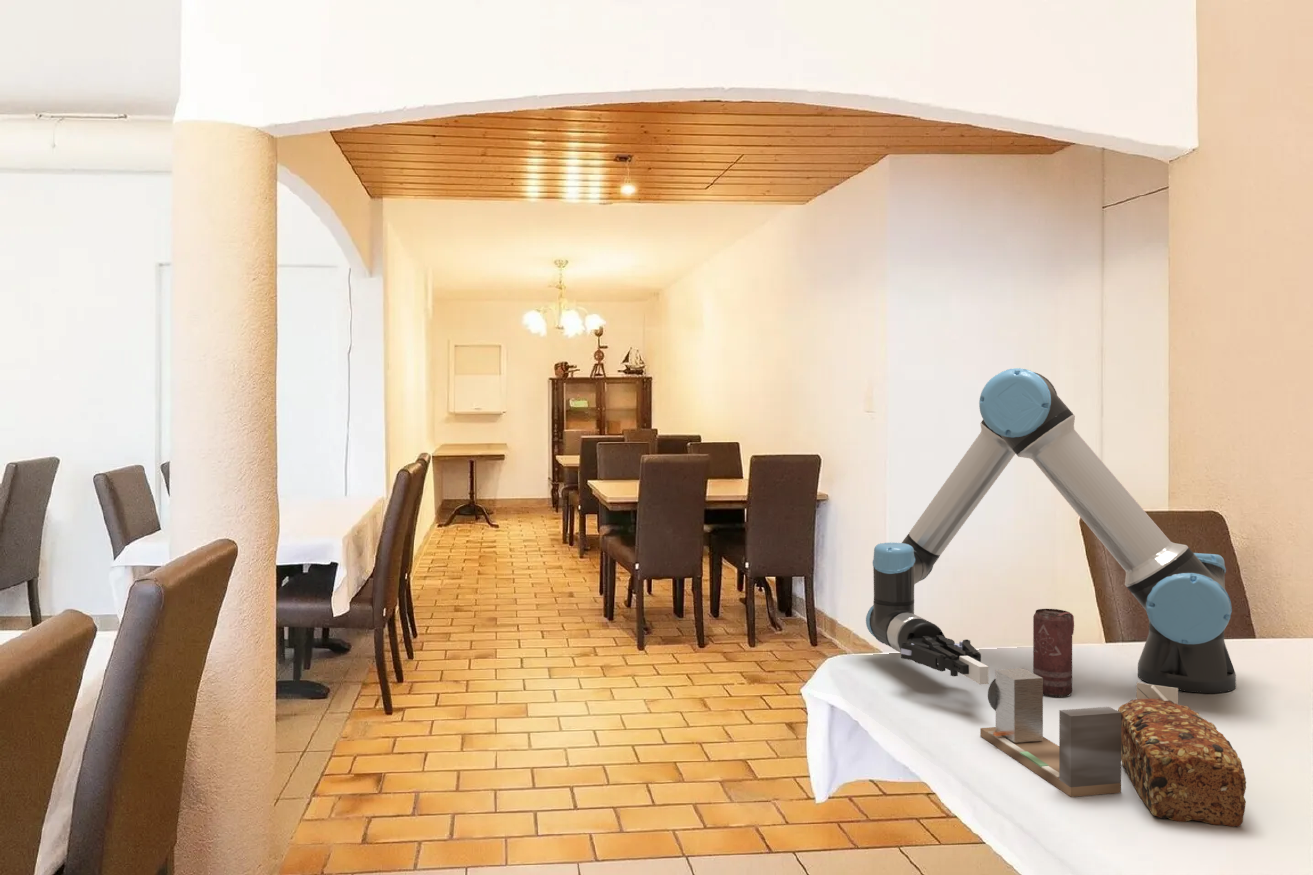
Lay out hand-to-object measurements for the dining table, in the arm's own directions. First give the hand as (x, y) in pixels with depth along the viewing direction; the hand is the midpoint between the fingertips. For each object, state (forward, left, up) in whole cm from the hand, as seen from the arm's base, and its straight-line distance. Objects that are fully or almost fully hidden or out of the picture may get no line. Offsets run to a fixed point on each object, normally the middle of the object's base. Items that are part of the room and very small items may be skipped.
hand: (984, 675), depth 142 cm
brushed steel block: (-1, +9, -6) cm, 11 cm away
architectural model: (-24, +5, -8) cm, 26 cm away
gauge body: (-3, +15, -7) cm, 17 cm away
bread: (-15, +26, -8) cm, 31 cm away
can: (-17, -15, -8) cm, 24 cm away
